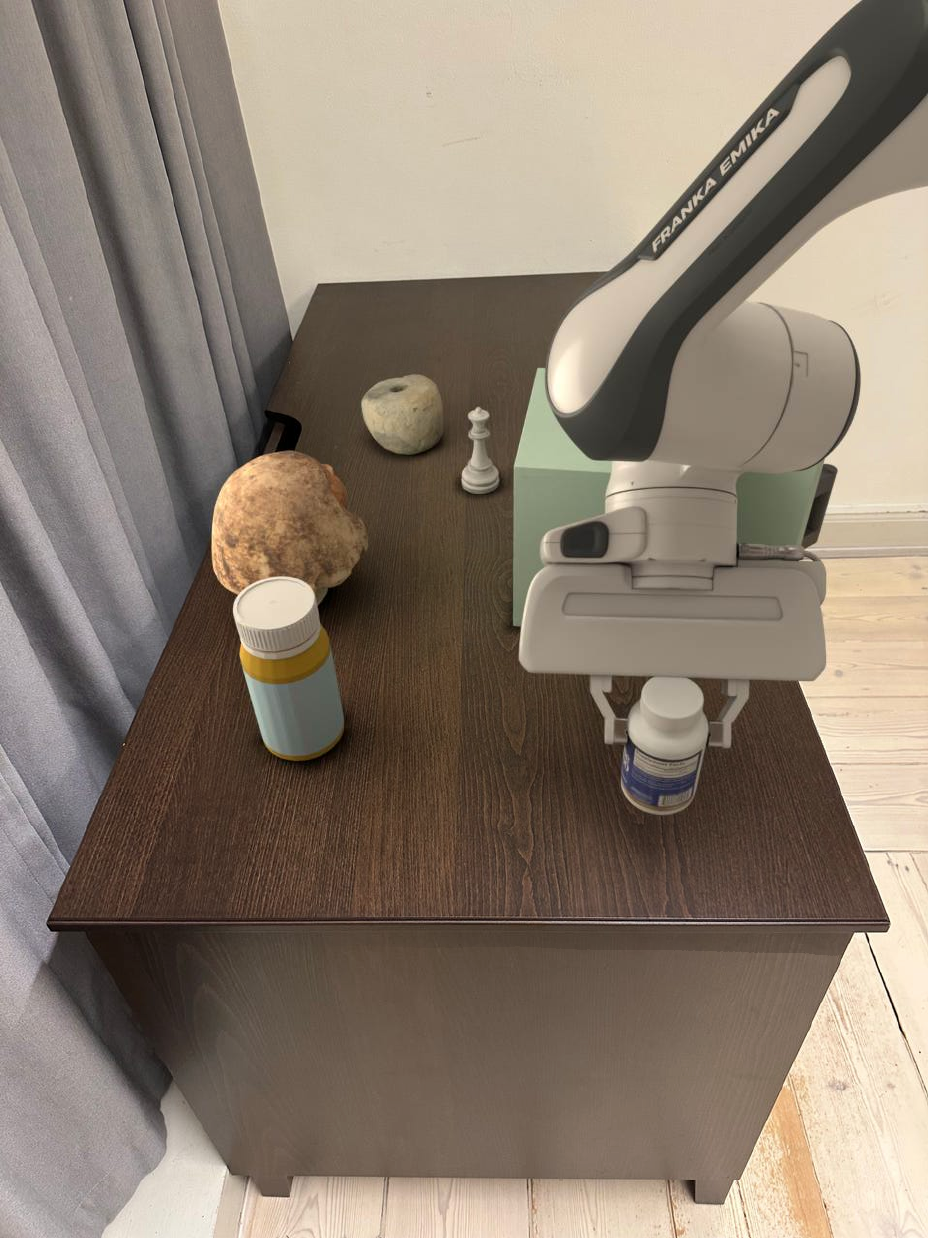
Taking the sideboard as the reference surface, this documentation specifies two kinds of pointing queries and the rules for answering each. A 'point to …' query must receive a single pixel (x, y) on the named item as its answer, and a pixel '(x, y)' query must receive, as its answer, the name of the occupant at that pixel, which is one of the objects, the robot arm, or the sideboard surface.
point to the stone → (404, 414)
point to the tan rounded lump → (285, 525)
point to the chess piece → (479, 458)
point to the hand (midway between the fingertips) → (665, 745)
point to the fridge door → (783, 506)
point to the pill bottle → (664, 746)
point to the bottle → (289, 668)
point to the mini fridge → (549, 489)
